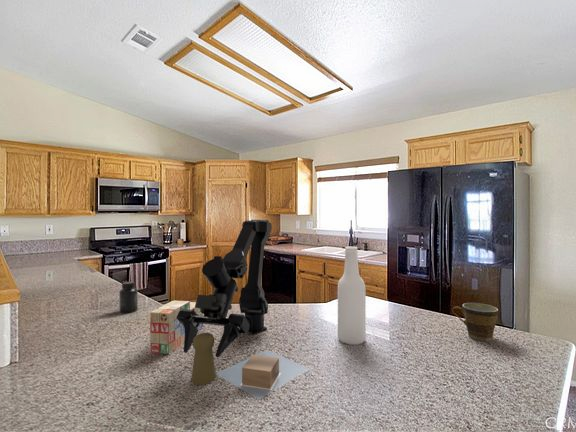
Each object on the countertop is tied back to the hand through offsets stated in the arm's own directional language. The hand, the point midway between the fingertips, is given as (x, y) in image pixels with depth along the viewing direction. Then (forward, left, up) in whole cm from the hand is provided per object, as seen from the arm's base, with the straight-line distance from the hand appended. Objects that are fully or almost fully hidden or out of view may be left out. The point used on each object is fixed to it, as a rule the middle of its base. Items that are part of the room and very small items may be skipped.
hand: (200, 354), depth 75 cm
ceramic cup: (-75, +43, -7) cm, 87 cm away
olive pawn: (-1, -1, -7) cm, 7 cm away
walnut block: (-10, +10, -6) cm, 16 cm away
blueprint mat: (-13, +8, -7) cm, 17 cm away
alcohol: (-46, +14, -7) cm, 49 cm away
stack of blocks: (-10, -28, -7) cm, 31 cm away
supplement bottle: (-10, -72, -7) cm, 73 cm away
